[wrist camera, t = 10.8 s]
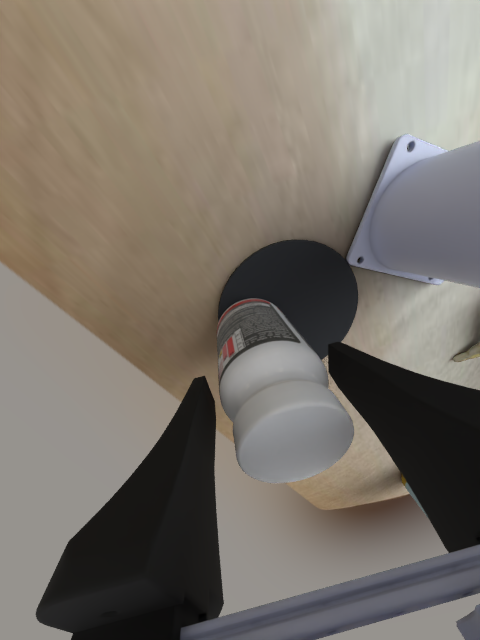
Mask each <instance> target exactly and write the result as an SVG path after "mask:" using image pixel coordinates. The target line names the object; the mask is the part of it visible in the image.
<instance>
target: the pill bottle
mask: <svg viewBox="0 0 480 640" xmlns="http://www.w3.org/2000/svg"><path fill="white" fill-rule="evenodd" d="M217 350H218V372H219V375H218V377H219V393H220V400H221V404H222V407H223V409H224V411H225V413H226V415H227V416H228V417H229V418H230V420H231V421H232V422H233V436H234V442H235V450H236V457H237V461H238V464H239V466H240V467H241V468H242V470H243V471H244V472H245V473H246V474H248V475H249V476H251V477H252V478H254V479H257V480H260V481H263V482H269V483H287V482H294V481H299V480H303V479H306V478H309V477H312V476H315V475H316V474H319V473H321V472H322V471H324V470H326V469H328V468H329V467H331V466H332V465H334V464H335V463H336V462H337V461H338V460H340V459H341V457H342V456H343V455H344V454H345V453H346V451H347V450H348V448H349V447H350V445H351V443H352V440H353V436H354V426H353V422H352V420H351V418H350V416H349V414H348V413H347V411H346V410H345V408H344V407H343V406H342V404H341V403H340V401H339V400H338V399H337V397H336V396H335V395H334V393H333V392H332V391H331V390H329V389H328V375H327V371H326V368H325V366H324V364H323V362H322V361H321V359H320V358H319V356H318V355H317V353H316V352H315V351H314V350H313V349H312V348H311V346H310V345H309V344H308V343H307V342H306V341H305V339H304V338H303V337H302V336H301V334H300V333H299V332H298V331H297V330H296V329H295V327H294V326H293V325H292V324H291V323H290V321H289V320H288V319H287V318H286V317H285V315H284V314H283V313H282V312H281V311H280V309H278V308H277V307H276V306H275V305H274V304H272V303H270V302H268V301H266V300H263V299H256V298H251V299H245V300H242V301H239V302H237V303H235V304H233V305H232V306H230V307H229V308H228V309H227V310H226V311H225V312H224V313H223V315H222V316H221V318H220V320H219V323H218V327H217Z"/></svg>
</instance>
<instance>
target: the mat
mask: <svg viewBox="0 0 480 640" xmlns="http://www.w3.org/2000/svg"><path fill="white" fill-rule="evenodd" d="M251 298H256V299H263V300H266V301H268V302H270V303H272V304H274V305H275V306H276V307H277V308H278V309H280V311H281V312H282V313H283V314H284V315H285V317H286V318H287V319H288V320H289V321H290V323H291V324H292V325H293V326H294V327H295V329H296V330H297V331H298V332H299V333H300V334H301V336H302V337H303V338H304V339H305V341H306V342H307V343H308V344H309V345H310V346H311V348H312V349H313V350H314V351H315V352H316V353H317V355H318V356H319V358H320V359H321V360H322V359H323V358H325V357H326V356H327V355H328V344H331V343H335V342H341V341H342V340H343V339H344V337H345V336H346V334H347V333H348V331H349V329H350V327H351V325H352V323H353V320H354V317H355V314H356V310H357V304H358V289H357V283H356V279H355V276H354V274H353V272H352V269H351V268H350V266H349V265H348V263H347V262H346V260H345V259H344V258H343V257H342V256H341V255H340V254H339V253H337V252H336V251H335V250H333V249H332V248H330V247H328V246H326V245H324V244H321V243H318V242H314V241H308V240H287V241H281V242H277V243H274V244H271V245H268V246H266V247H264V248H262V249H260V250H258V251H257V252H255V253H253V254H252V255H251V256H249V257H248V258H247V259H245V260H244V261H243V262H242V263H241V264H240V265H239V266H238V267H237V268H236V270H235V271H234V272H233V274H232V275H231V276H230V278H229V280H228V281H227V283H226V285H225V287H224V290H223V292H222V295H221V298H220V302H219V309H218V323H219V320H220V318H221V316H222V315H223V313H224V312H225V311H226V310H227V309H228V308H229V307H230V306H232V305H233V304H235V303H237V302H239V301H242V300H245V299H251Z"/></svg>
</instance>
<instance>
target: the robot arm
mask: <svg viewBox="0 0 480 640" xmlns="http://www.w3.org/2000/svg"><path fill="white" fill-rule="evenodd" d="M407 145H409V150H408V151H407ZM359 257H360V261H359V262H357V260H358V258H359ZM346 262H347V263H348V264H349V265H352V266H357V267H361V268H365V269H370V270H374V271H378V272H383V273H387V274H391V275H396V276H400V277H404V278H409V279H413V280H417V281H422V282H426V283H430V284H435V285H439V284H441V283H443V282H444V280H445V281H450V282H454V283H459V284H464V285H468V286H473V287H478V288H480V141H477V142H474V143H471V144H469V145H466V146H463V147H460V148H457V149H454V150H451V151H447V150H445V149H443V148H440V147H438V146H435V145H433V144H431V143H428V142H426V141H423V140H421V139H418V138H416V137H414V136H411V135H409V134H404V135H402V136H400V137H398V138H397V139H396V140H395V141H394V143H393V145H392V148H391V150H390V153H389V155H388V158H387V160H386V162H385V165H384V167H383V170H382V172H381V175H380V177H379V179H378V182H377V184H376V187H375V189H374V192H373V194H372V196H371V199H370V201H369V204H368V206H367V209H366V211H365V213H364V216H363V218H362V221H361V223H360V225H359V228H358V230H357V233H356V235H355V238H354V240H353V242H352V245H351V247H350V250H349V252H348V255H347V257H346ZM328 365H329V373H330V375H331V377H332V378H333V380H334V381H335V383H336V384H337V386H338V388H339V389H340V390H341V391H342V393H343V394H344V395H345V396H346V398H347V399H348V400H349V401H350V402H351V404H352V405H353V406H354V407H355V409H356V410H357V411H358V412H359V413H360V415H361V416H362V417H363V418H364V420H365V421H366V422H367V423H368V425H369V426H370V427H371V429H372V430H373V431H374V433H375V434H376V436H377V437H378V439H379V440H380V441H381V443H382V444H383V446H384V447H385V449H386V450H387V452H388V453H389V455H390V456H391V458H392V460H393V461H394V463H395V464H396V466H397V467H398V469H399V470H400V472H401V473H402V475H403V477H404V478H405V480H406V482H407V483H408V485H409V486H410V488H411V490H412V491H413V493H414V494H415V496H416V498H417V499H418V501H419V503H420V504H421V506H422V508H423V510H424V511H425V513H426V515H427V516H428V518H429V520H430V521H431V523H432V525H433V527H434V528H435V530H436V531H437V533H438V535H439V537H440V539H441V541H442V542H443V544H444V546H445V548H446V549H447V551H448V552H449V553H448V554H444V555H441V556H437V557H433V558H430V559H426V560H423V561H419V562H416V563H412V564H409V565H405V566H401V567H398V568H394V569H390V570H387V571H383V572H380V573H376V574H373V575H369V576H365V577H362V578H358V579H355V580H351V581H347V582H344V583H340V584H337V585H334V586H330V587H326V588H323V589H319V590H315V591H312V592H308V593H304V594H301V595H298V596H294V597H290V598H287V599H283V600H279V601H276V602H272V603H269V604H265V605H261V606H258V607H255V608H251V609H247V610H244V611H240V612H237V613H233V614H229V615H226V616H222V617H218V616H219V614H220V612H221V610H222V607H223V604H224V601H223V591H222V579H221V568H220V556H219V543H218V529H217V514H216V499H215V476H214V460H215V434H216V433H215V432H216V412H215V401H214V398H213V396H212V393H211V391H210V388H209V385H208V383H207V380H206V378H205V376H202V377H198V378H194V380H193V381H192V383H191V385H190V387H189V389H188V391H187V393H186V395H185V397H184V399H183V401H182V403H181V404H180V406H179V408H178V410H177V412H176V413H175V415H174V417H173V418H172V420H171V422H170V423H169V425H168V426H167V428H166V430H165V431H164V433H163V434H162V436H161V437H160V439H159V440H158V442H157V443H156V445H155V446H154V447H153V449H152V450H151V451H150V453H149V454H148V455H147V457H146V458H145V459H144V460H143V461H142V463H141V464H140V465H139V466H138V468H137V469H136V470H135V472H134V473H133V474H132V475H131V476H130V477H129V479H128V480H127V481H126V482H125V483H124V484H123V486H122V487H121V488H120V489H119V490H118V491H117V492H116V493H115V494H114V496H113V497H112V498H111V499H110V500H109V501H108V502H107V503H106V504H105V505H104V506H103V507H102V508H101V510H99V512H98V513H97V514H96V515H95V516H94V517H93V518H92V519H91V520H90V521H89V522H88V523H87V524H86V525H85V526H84V527H83V528H82V529H81V530H80V531H79V532H78V533H77V534H76V535H75V536H74V537H73V538H72V539H71V540H70V541H69V542H68V544H67V546H66V548H65V550H64V552H63V554H62V556H61V559H60V561H59V563H58V565H57V567H56V569H55V571H54V574H53V576H52V578H51V580H50V582H49V584H48V587H47V588H46V591H45V593H44V595H43V597H42V599H41V601H40V603H39V605H38V608H37V611H36V617H37V619H38V621H39V622H40V623H43V624H45V625H47V626H50V627H54V628H57V629H60V630H64V631H67V632H71V633H73V636H72V638H71V640H316V639H319V638H323V637H326V636H330V635H333V634H336V633H340V632H344V631H347V630H351V629H354V628H358V627H362V626H365V625H369V624H372V623H376V622H379V621H382V620H386V619H390V618H393V617H397V616H400V615H404V614H407V613H410V612H414V611H418V610H421V609H425V608H428V607H432V606H436V605H439V604H443V603H446V602H449V601H453V600H457V599H460V598H463V597H467V596H471V595H474V594H478V593H480V390H476V389H472V388H467V387H464V386H460V385H456V384H452V383H448V382H444V381H441V380H437V379H434V378H431V377H428V376H424V375H421V374H418V373H415V372H412V371H409V370H406V369H403V368H401V367H398V366H396V365H393V364H390V363H388V362H385V361H383V360H380V359H378V358H375V357H373V356H371V355H368V354H366V353H364V352H362V351H359V350H357V349H355V348H353V347H350V346H348V345H346V344H343V343H341V342H335V343H331V344H328ZM457 627H458V629H459V630H460V632H461V633H462V635H463V637H464V639H465V640H480V604H479V605H477V606H476V607H475V610H474V611H472V612H471V613H470V614H468V615H467V616H465V617H463V618H462V619H460V620H458V621H457Z"/></svg>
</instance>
